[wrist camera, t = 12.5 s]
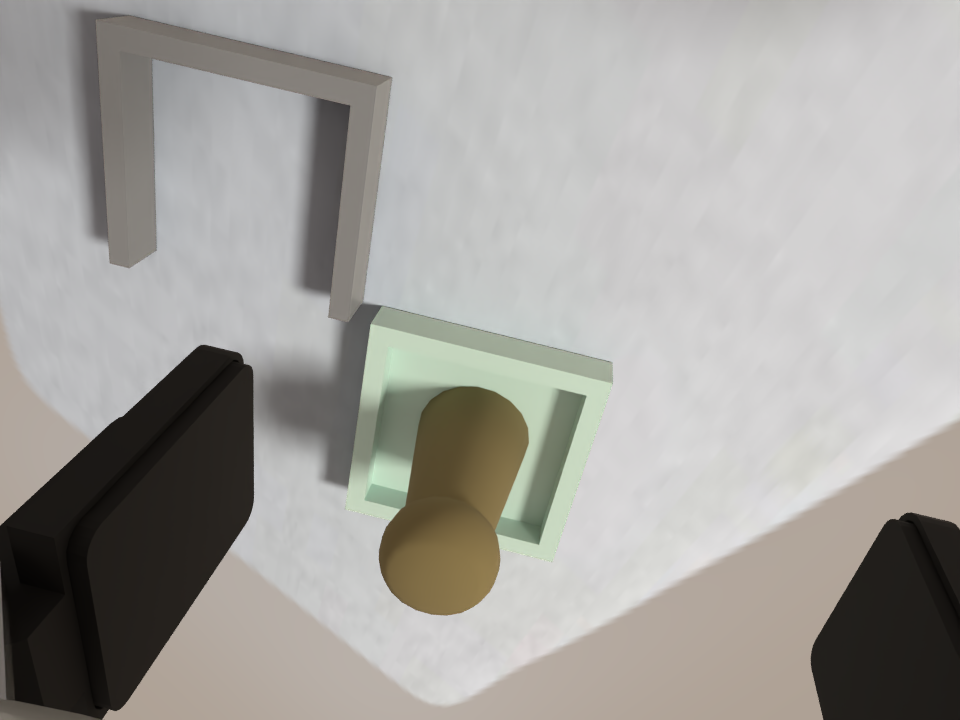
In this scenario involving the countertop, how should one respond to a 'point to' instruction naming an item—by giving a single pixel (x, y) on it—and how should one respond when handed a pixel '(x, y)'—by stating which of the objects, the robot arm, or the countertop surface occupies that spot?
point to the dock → (139, 41)
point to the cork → (454, 501)
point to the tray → (493, 366)
